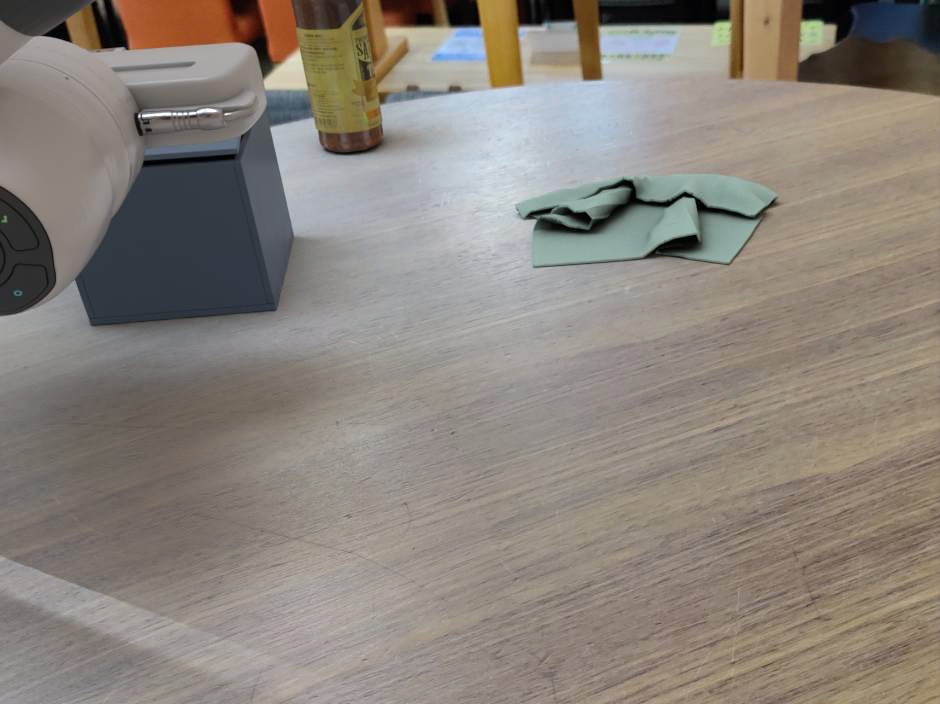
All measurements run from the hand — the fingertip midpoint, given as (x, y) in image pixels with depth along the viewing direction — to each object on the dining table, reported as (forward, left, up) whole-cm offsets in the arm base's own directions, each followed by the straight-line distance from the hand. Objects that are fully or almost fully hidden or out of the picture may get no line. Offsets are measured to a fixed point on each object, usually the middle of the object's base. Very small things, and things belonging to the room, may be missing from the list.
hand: (106, 62), depth 74 cm
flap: (0, +4, -6) cm, 7 cm away
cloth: (+34, +12, -17) cm, 40 cm away
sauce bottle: (+10, +37, -17) cm, 42 cm away
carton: (0, +8, -17) cm, 19 cm away
